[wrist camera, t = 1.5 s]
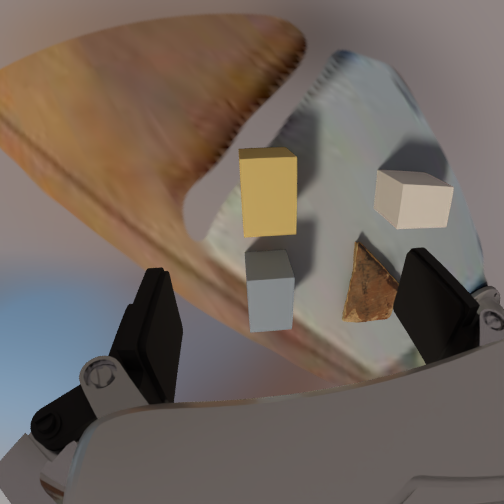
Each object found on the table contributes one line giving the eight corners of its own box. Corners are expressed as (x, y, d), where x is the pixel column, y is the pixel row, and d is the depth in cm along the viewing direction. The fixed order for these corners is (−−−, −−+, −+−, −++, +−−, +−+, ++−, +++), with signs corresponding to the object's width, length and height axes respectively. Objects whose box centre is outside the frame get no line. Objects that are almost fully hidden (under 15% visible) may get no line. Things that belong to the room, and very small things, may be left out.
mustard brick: (238, 148, 24) (239, 159, 19) (285, 146, 24) (297, 157, 19) (242, 213, 26) (244, 237, 22) (285, 211, 27) (296, 234, 22)
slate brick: (244, 251, 28) (246, 280, 24) (285, 249, 28) (294, 277, 24) (247, 300, 31) (250, 332, 27) (284, 297, 31) (291, 328, 27)
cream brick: (424, 172, 25) (453, 187, 21) (419, 207, 27) (446, 227, 23) (377, 169, 25) (403, 184, 21) (373, 208, 27) (396, 229, 22)
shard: (353, 235, 29) (359, 243, 27) (411, 234, 29) (420, 242, 27) (337, 315, 34) (341, 325, 32) (390, 309, 34) (395, 318, 33)
